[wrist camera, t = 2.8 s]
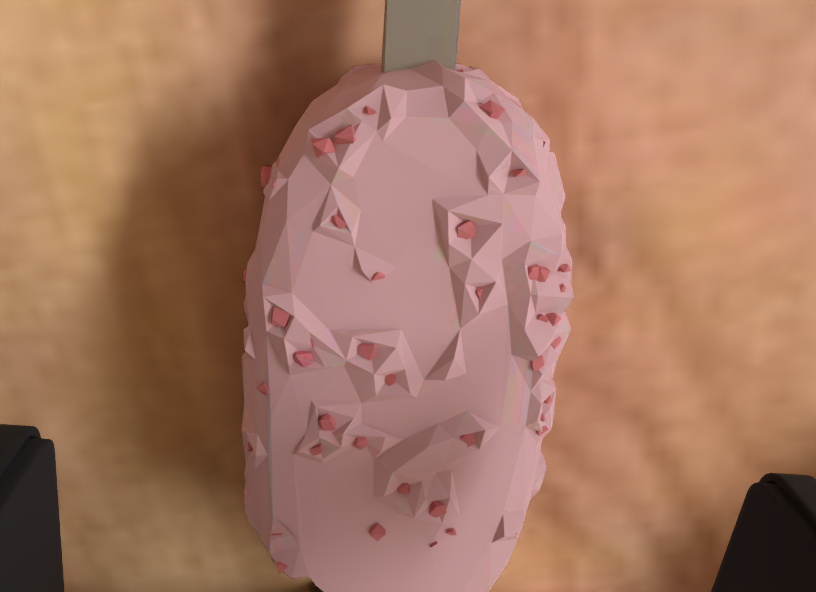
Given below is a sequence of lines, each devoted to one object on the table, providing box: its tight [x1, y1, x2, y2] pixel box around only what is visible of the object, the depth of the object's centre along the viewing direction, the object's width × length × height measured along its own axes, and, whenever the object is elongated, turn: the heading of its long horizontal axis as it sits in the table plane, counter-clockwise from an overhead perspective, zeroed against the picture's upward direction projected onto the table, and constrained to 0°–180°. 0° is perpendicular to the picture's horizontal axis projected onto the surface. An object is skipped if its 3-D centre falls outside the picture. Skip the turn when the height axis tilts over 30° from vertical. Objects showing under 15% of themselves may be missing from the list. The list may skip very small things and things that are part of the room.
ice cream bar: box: [241, 0, 574, 592], centre depth 15 cm, size 6×4×15 cm
